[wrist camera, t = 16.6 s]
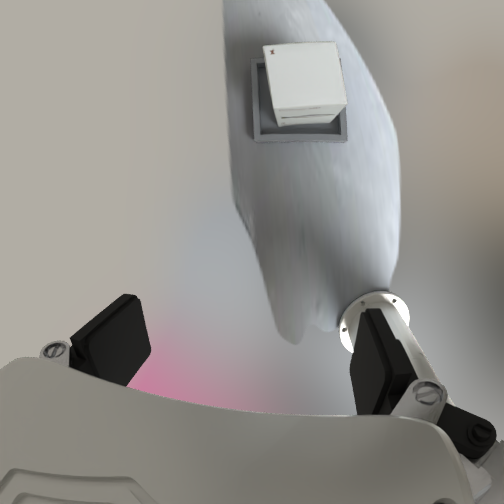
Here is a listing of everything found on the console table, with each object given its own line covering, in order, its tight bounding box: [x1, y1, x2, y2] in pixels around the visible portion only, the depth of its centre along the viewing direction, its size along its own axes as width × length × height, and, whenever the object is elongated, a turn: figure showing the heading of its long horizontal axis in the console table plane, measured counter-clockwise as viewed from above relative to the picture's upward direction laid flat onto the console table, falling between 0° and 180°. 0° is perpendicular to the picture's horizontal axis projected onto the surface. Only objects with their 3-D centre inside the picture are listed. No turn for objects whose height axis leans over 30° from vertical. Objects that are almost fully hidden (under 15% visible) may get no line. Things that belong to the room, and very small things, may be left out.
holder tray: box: [250, 58, 347, 143], centre depth 32 cm, size 12×12×3 cm
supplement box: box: [263, 41, 347, 127], centre depth 27 cm, size 7×7×13 cm
